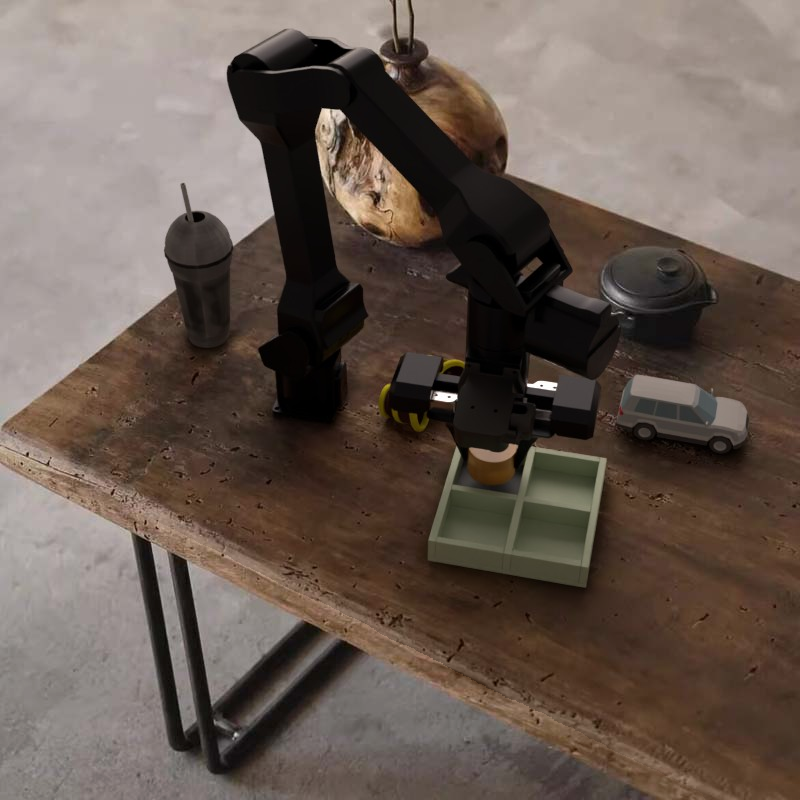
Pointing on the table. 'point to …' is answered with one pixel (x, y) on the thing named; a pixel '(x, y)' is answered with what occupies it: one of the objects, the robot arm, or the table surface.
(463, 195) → the robot arm
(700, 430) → the toy car
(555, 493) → the grid
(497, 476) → the cylinder
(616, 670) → the table surface
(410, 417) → the opera glasses
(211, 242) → the beverage cup
